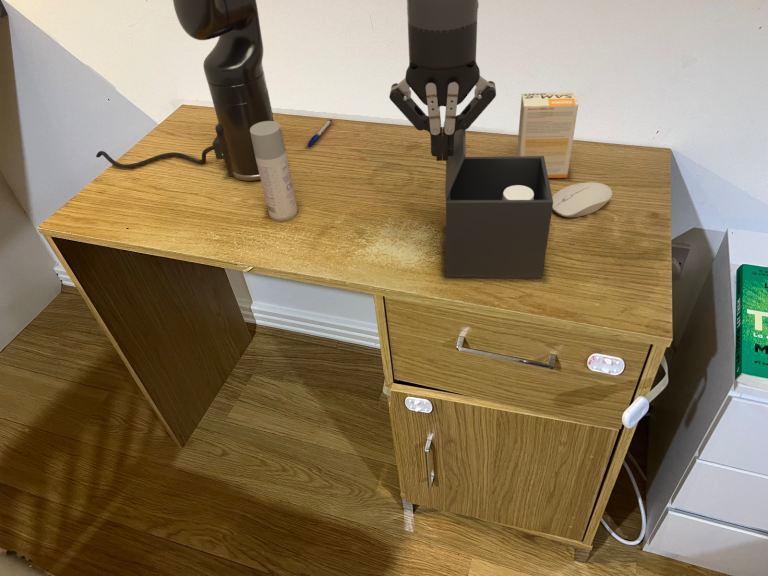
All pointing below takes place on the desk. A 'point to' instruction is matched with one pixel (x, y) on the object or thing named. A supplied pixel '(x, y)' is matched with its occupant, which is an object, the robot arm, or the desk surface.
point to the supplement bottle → (518, 193)
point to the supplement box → (548, 129)
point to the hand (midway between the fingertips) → (442, 157)
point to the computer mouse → (581, 199)
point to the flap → (455, 159)
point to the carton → (498, 219)
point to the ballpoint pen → (318, 133)
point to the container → (274, 170)
